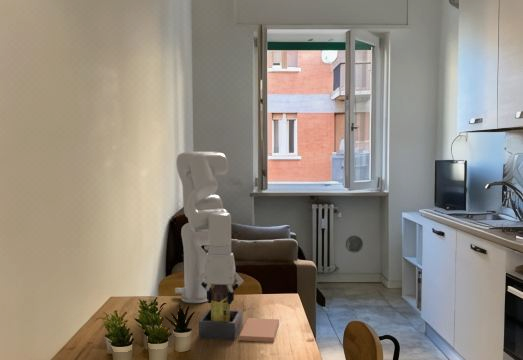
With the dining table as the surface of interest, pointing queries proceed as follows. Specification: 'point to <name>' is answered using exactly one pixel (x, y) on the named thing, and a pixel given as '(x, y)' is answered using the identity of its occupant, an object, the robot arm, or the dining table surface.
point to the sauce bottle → (220, 304)
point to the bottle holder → (220, 326)
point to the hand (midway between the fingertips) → (220, 301)
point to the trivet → (260, 330)
